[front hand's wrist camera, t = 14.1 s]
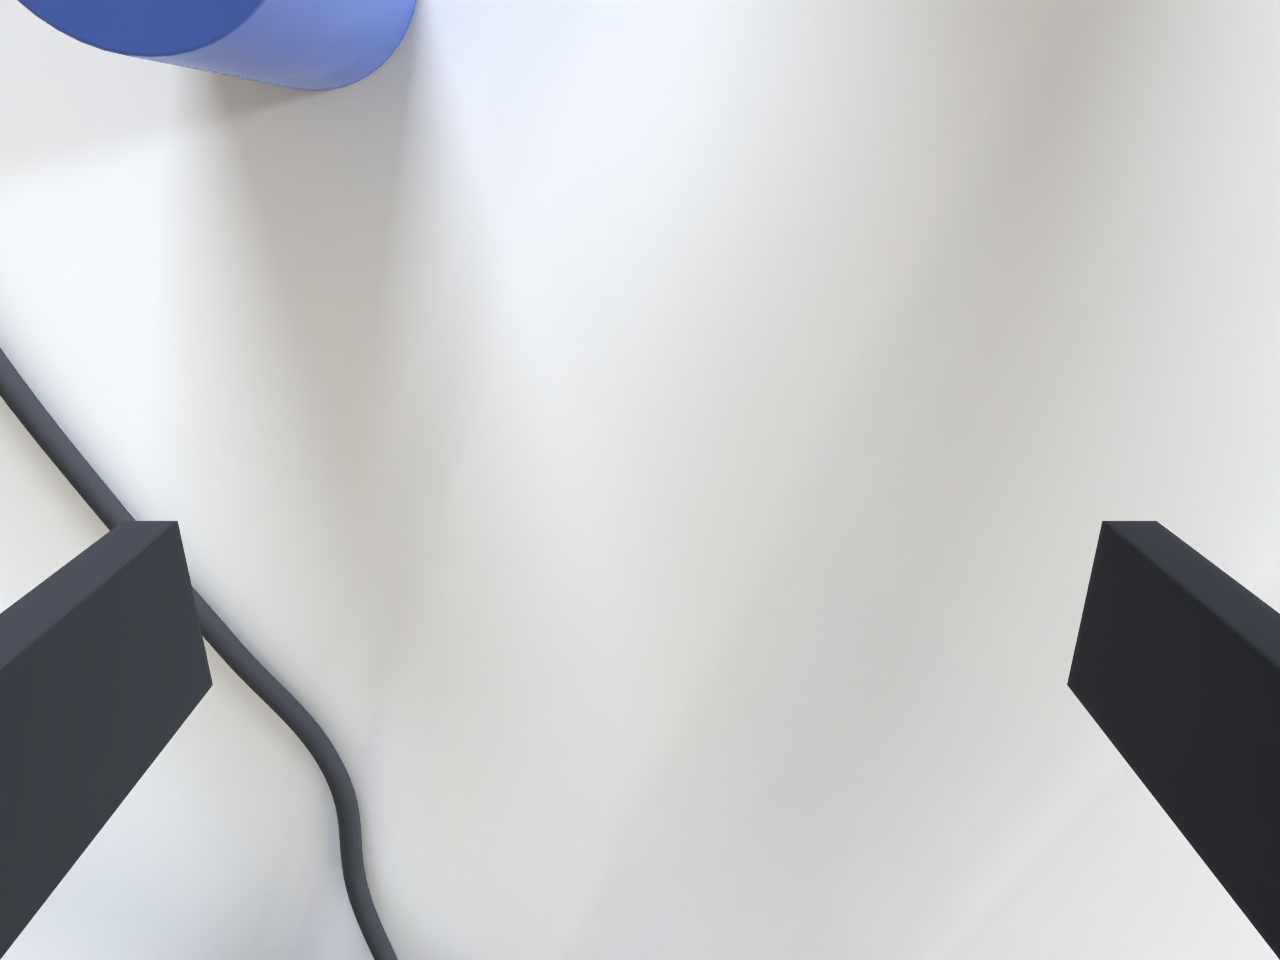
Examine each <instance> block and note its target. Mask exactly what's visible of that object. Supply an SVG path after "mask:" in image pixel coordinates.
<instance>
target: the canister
mask: <svg viewBox="0 0 1280 960" xmlns="http://www.w3.org/2000/svg"><path fill="white" fill-rule="evenodd" d="M18 1H19V2H20V3H21V4H23V5H24V6H25V7H26V8H27V9H29V10H30V11H31V12H32V13H33V14H35V15H36V16H37V17H39V18H40V19H42V20H43V21H45V22H46V23H48V24H49V25H51V26H52V27H54V28H55V29H57V30H58V31H60V32H62V33H64V34H66V35H68V36H70V37H72V38H74V39H76V40H78V41H80V42H82V43H85V44H88V45H91V46H93V47H96V48H99V49H102V50H105V51H109V52H114V53H118V54H122V55H127V56H132V57H137V58H142V59H147V60H152V61H157V62H163V63H168V64H173V65H178V66H183V67H188V68H193V69H198V70H203V71H208V72H213V73H219V74H224V75H229V76H234V77H239V78H244V79H249V80H254V81H259V82H264V83H270V84H275V85H280V86H285V87H290V88H295V89H301V90H313V91H316V90H330V89H335V88H340V87H344V86H347V85H349V84H352V83H355V82H357V81H359V80H361V79H363V78H364V77H366V76H368V75H370V74H371V73H372V72H374V71H375V70H376V69H378V68H379V67H380V66H381V65H382V64H383V63H384V62H385V61H386V60H387V59H388V58H389V57H390V56H391V55H392V53H393V52H394V51H395V49H396V48H397V47H398V45H399V44H400V42H401V40H402V38H403V36H404V35H405V33H406V31H407V29H408V26H409V23H410V21H411V18H412V15H413V12H414V7H415V3H416V0H18Z"/></svg>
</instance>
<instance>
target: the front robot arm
mask: <svg viewBox="0 0 1280 960" xmlns="http://www.w3.org/2000/svg"><path fill="white" fill-rule="evenodd" d="M0 396H1V397H2V398H3V399H4V401H5V402H6V403H7V405H8V406H9V407H10V409H11V410H12V411H13V413H14V414H15V415H16V416H17V418H18V419H19V420H20V422H21V423H22V424H23V425H24V427H25V428H26V429H27V430H28V432H29V433H30V434H31V435H32V437H33V438H34V439H35V440H36V442H37V443H38V444H39V445H40V447H41V448H42V449H43V450H44V452H45V453H46V454H47V455H48V456H49V458H50V459H51V460H52V461H53V463H54V464H55V465H56V466H57V467H58V469H59V470H60V471H61V472H62V473H63V475H64V476H65V477H66V478H67V479H68V481H69V482H70V483H71V484H72V486H73V487H74V488H75V489H76V490H77V492H78V493H79V494H80V495H81V496H82V498H83V499H84V500H85V501H86V502H87V504H88V505H89V506H90V507H91V508H92V510H93V511H94V512H95V513H96V514H97V516H98V517H99V518H100V519H101V520H102V522H103V523H104V524H105V525H106V526H107V528H108V529H109V530H110V532H108V533H107V534H106V535H104V536H103V537H102V538H100V539H99V540H98V541H97V542H95V543H94V544H93V545H91V546H90V547H89V548H87V549H86V550H85V551H83V552H82V553H81V554H79V555H78V556H77V557H75V558H74V559H73V560H71V561H70V562H69V563H67V564H66V565H65V566H63V567H62V568H61V569H59V570H58V571H57V572H55V573H54V574H53V575H51V576H50V577H49V578H47V579H46V580H45V581H43V582H42V583H41V584H39V585H38V586H37V587H35V588H34V589H33V590H31V591H30V592H29V593H27V594H26V595H25V596H23V597H22V598H21V599H19V600H18V601H17V602H15V603H14V604H13V605H12V606H10V607H9V608H8V609H6V610H5V611H4V612H2V613H1V614H0V959H1V958H2V957H3V955H4V954H5V953H6V951H7V950H8V949H9V948H10V946H11V945H12V944H13V942H14V941H15V940H16V938H17V937H18V936H19V935H20V933H21V932H22V931H23V929H24V928H25V927H26V926H27V924H28V923H29V922H30V920H31V919H32V918H33V917H34V915H35V914H36V913H37V911H38V910H39V909H40V907H41V906H42V905H43V904H44V902H45V901H46V900H47V898H48V897H49V896H50V895H51V893H52V892H53V891H54V889H55V888H56V887H57V885H58V884H59V883H60V882H61V880H62V879H63V878H64V876H65V875H66V874H67V873H68V871H69V870H70V869H71V867H72V866H73V865H74V863H75V862H76V861H77V860H78V858H79V857H80V856H81V854H82V853H83V852H84V851H85V849H86V848H87V847H88V845H89V844H90V843H91V842H92V840H93V839H94V838H95V836H96V835H97V834H98V832H99V831H100V830H101V829H102V827H103V826H104V825H105V823H106V822H107V821H108V820H109V818H110V817H111V816H112V814H113V813H114V812H115V810H116V809H117V808H118V807H119V805H120V804H121V803H122V801H123V800H124V799H125V798H126V796H127V795H128V794H129V792H130V791H131V790H132V788H133V787H134V786H135V785H136V783H137V782H138V781H139V779H140V778H141V777H142V776H143V774H144V773H145V772H146V770H147V769H148V768H149V767H150V765H151V764H152V763H153V761H154V760H155V759H156V757H157V756H158V755H159V754H160V752H161V751H162V750H163V748H164V747H165V746H166V745H167V743H168V742H169V741H170V739H171V738H172V737H173V735H174V734H175V733H176V732H177V730H178V729H179V728H180V726H181V725H182V724H183V723H184V721H185V720H186V719H187V717H188V716H189V715H190V714H191V712H192V711H193V710H194V708H195V707H196V706H197V704H198V703H199V702H200V701H201V699H202V698H203V697H204V695H205V694H206V693H207V692H208V690H209V689H210V688H211V686H212V685H213V684H212V679H211V674H210V670H209V665H208V661H207V656H206V651H205V647H204V642H203V637H204V638H205V639H206V640H207V641H208V642H209V644H210V645H211V646H212V647H213V648H214V649H215V650H216V652H217V653H218V654H219V655H220V656H221V657H222V658H223V659H224V661H225V662H226V663H227V664H228V665H229V666H230V667H231V668H232V669H233V670H234V671H235V672H236V674H237V675H238V676H239V677H240V678H241V679H242V680H243V681H244V682H245V683H246V684H247V685H248V686H249V687H250V688H251V689H252V690H253V691H254V692H255V693H256V694H257V695H258V696H259V697H260V698H261V699H262V700H263V701H264V702H265V703H266V704H268V705H269V706H270V707H271V708H272V709H273V710H274V711H275V712H276V713H277V714H278V715H279V716H280V717H281V719H282V720H283V721H284V722H285V723H286V724H287V725H288V726H289V727H290V728H291V729H292V730H293V731H294V733H295V734H296V735H297V736H298V737H299V739H300V740H301V741H302V742H303V743H304V745H305V746H306V747H307V749H308V750H309V752H310V753H311V754H312V756H313V757H314V759H315V761H316V762H317V764H318V765H319V767H320V769H321V771H322V773H323V774H324V776H325V779H326V781H327V783H328V785H329V788H330V790H331V793H332V796H333V799H334V803H335V807H336V812H337V817H338V825H339V836H340V850H341V861H342V869H343V875H344V880H345V885H346V889H347V893H348V896H349V900H350V903H351V906H352V908H353V911H354V914H355V916H356V919H357V922H358V924H359V926H360V929H361V931H362V933H363V936H364V938H365V940H366V942H367V944H368V946H369V949H370V951H371V953H372V955H373V957H374V959H375V960H398V959H397V957H396V955H395V953H394V951H393V948H392V946H391V944H390V942H389V940H388V938H387V935H386V933H385V931H384V929H383V927H382V924H381V922H380V920H379V917H378V915H377V912H376V910H375V907H374V904H373V901H372V898H371V895H370V892H369V889H368V885H367V881H366V876H365V871H364V864H363V855H362V841H361V826H360V816H359V809H358V804H357V799H356V796H355V792H354V789H353V786H352V783H351V780H350V777H349V775H348V773H347V771H346V769H345V766H344V764H343V763H342V761H341V759H340V757H339V755H338V753H337V752H336V750H335V748H334V747H333V745H332V743H331V742H330V740H329V739H328V737H327V736H326V735H325V733H324V732H323V730H322V729H321V728H320V726H319V725H318V724H317V723H316V721H315V720H314V719H313V718H312V717H311V715H310V714H309V713H308V712H307V711H306V710H305V709H304V708H303V707H302V705H301V704H300V703H299V702H298V701H297V700H296V699H295V698H294V697H293V696H292V695H291V694H290V693H289V692H288V691H287V690H286V689H285V688H284V687H283V686H282V685H281V684H280V683H279V682H278V681H277V680H276V679H275V678H274V677H273V676H272V675H271V674H270V673H269V672H268V671H267V670H266V669H265V668H264V667H263V666H262V665H261V664H260V663H259V662H258V661H257V660H256V659H255V658H254V656H253V655H252V654H251V653H250V652H249V651H248V650H247V649H246V648H245V647H244V646H243V644H242V643H241V642H240V641H239V640H238V639H237V638H236V636H235V635H234V634H233V633H232V632H231V631H230V629H229V628H228V627H227V626H226V625H225V624H224V622H223V621H222V620H221V619H220V618H219V617H218V616H217V614H216V613H215V612H214V611H213V610H212V609H211V608H210V606H209V605H208V604H207V603H206V602H205V601H204V600H203V598H202V597H201V596H200V595H199V594H198V593H197V592H196V590H195V589H194V588H193V587H192V586H191V582H190V577H189V572H188V568H187V563H186V558H185V554H184V549H183V544H182V540H181V535H180V530H179V526H178V521H135V520H134V518H133V517H132V516H131V515H130V514H129V512H128V511H127V510H126V509H125V508H124V506H123V505H122V504H121V503H120V501H119V500H118V499H117V498H116V497H115V495H114V494H113V493H112V492H111V490H110V489H109V488H108V487H107V486H106V484H105V483H104V482H103V481H102V479H101V478H100V477H99V476H98V475H97V473H96V472H95V471H94V470H93V468H92V467H91V466H90V465H89V463H88V462H87V461H86V460H85V459H84V457H83V456H82V455H81V454H80V452H79V451H78V450H77V449H76V447H75V446H74V445H73V444H72V442H71V441H70V440H69V439H68V437H67V436H66V435H65V434H64V432H63V431H62V430H61V429H60V427H59V426H58V425H57V424H56V422H55V421H54V420H53V418H52V417H51V416H50V415H49V413H48V412H47V411H46V409H45V408H44V407H43V405H42V404H41V403H40V402H39V400H38V399H37V398H36V396H35V395H34V394H33V392H32V391H31V390H30V388H29V387H28V386H27V384H26V383H25V382H24V380H23V379H22V377H21V376H20V375H19V373H18V372H17V371H16V369H15V368H14V366H13V365H12V364H11V362H10V361H9V360H8V358H7V357H6V355H5V354H4V353H3V351H2V350H1V348H0ZM202 636H203V637H202ZM1067 685H1068V686H1069V688H1070V689H1071V690H1072V692H1073V693H1074V694H1075V695H1076V697H1077V698H1078V699H1079V701H1080V702H1081V703H1082V704H1083V706H1084V707H1085V708H1086V710H1087V711H1088V712H1089V714H1090V715H1091V716H1092V717H1093V719H1094V720H1095V721H1096V723H1097V724H1098V725H1099V726H1100V728H1101V729H1102V730H1103V732H1104V733H1105V734H1106V735H1107V737H1108V738H1109V739H1110V741H1111V742H1112V743H1113V745H1114V746H1115V747H1116V748H1117V750H1118V751H1119V752H1120V754H1121V755H1122V756H1123V757H1124V759H1125V760H1126V761H1127V763H1128V764H1129V765H1130V767H1131V768H1132V769H1133V770H1134V772H1135V773H1136V774H1137V776H1138V777H1139V778H1140V779H1141V781H1142V782H1143V783H1144V785H1145V786H1146V787H1147V789H1148V790H1149V791H1150V792H1151V794H1152V795H1153V796H1154V798H1155V799H1156V800H1157V801H1158V803H1159V804H1160V805H1161V807H1162V808H1163V809H1164V810H1165V812H1166V813H1167V814H1168V816H1169V817H1170V818H1171V820H1172V821H1173V822H1174V823H1175V825H1176V826H1177V827H1178V829H1179V830H1180V831H1181V832H1182V834H1183V835H1184V836H1185V838H1186V839H1187V840H1188V842H1189V843H1190V844H1191V845H1192V847H1193V848H1194V849H1195V851H1196V852H1197V853H1198V854H1199V856H1200V857H1201V858H1202V860H1203V861H1204V862H1205V863H1206V865H1207V866H1208V867H1209V869H1210V870H1211V871H1212V873H1213V874H1214V875H1215V876H1216V878H1217V879H1218V880H1219V882H1220V883H1221V884H1222V885H1223V887H1224V888H1225V889H1226V891H1227V892H1228V893H1229V895H1230V896H1231V897H1232V898H1233V900H1234V901H1235V902H1236V904H1237V905H1238V906H1239V907H1240V909H1241V910H1242V911H1243V913H1244V914H1245V915H1246V917H1247V918H1248V919H1249V920H1250V922H1251V923H1252V924H1253V926H1254V927H1255V928H1256V929H1257V931H1258V932H1259V933H1260V935H1261V936H1262V937H1263V938H1264V940H1265V941H1266V942H1267V944H1268V945H1269V946H1270V948H1271V949H1272V950H1273V951H1274V953H1275V954H1276V955H1277V957H1278V958H1279V959H1280V614H1279V613H1278V612H1276V611H1275V610H1274V609H1272V608H1271V607H1270V606H1268V605H1267V604H1266V603H1265V602H1263V601H1262V600H1261V599H1259V598H1258V597H1257V596H1255V595H1254V594H1253V593H1251V592H1250V591H1249V590H1247V589H1246V588H1245V587H1243V586H1242V585H1241V584H1239V583H1238V582H1237V581H1235V580H1234V579H1233V578H1231V577H1230V576H1229V575H1227V574H1226V573H1225V572H1223V571H1222V570H1221V569H1219V568H1218V567H1217V566H1215V565H1214V564H1213V563H1211V562H1210V561H1209V560H1207V559H1206V558H1205V557H1203V556H1202V555H1201V554H1199V553H1198V552H1197V551H1195V550H1194V549H1193V548H1191V547H1190V546H1189V545H1187V544H1186V543H1185V542H1183V541H1182V540H1181V539H1180V538H1178V537H1177V536H1176V535H1174V534H1173V533H1172V532H1170V531H1169V530H1168V529H1166V528H1165V527H1164V526H1162V525H1161V524H1160V523H1158V522H1157V521H1102V526H1101V530H1100V535H1099V540H1098V544H1097V549H1096V554H1095V558H1094V563H1093V568H1092V572H1091V577H1090V582H1089V586H1088V591H1087V595H1086V600H1085V605H1084V609H1083V614H1082V619H1081V623H1080V628H1079V633H1078V637H1077V642H1076V647H1075V651H1074V656H1073V661H1072V665H1071V670H1070V674H1069V679H1068V684H1067Z"/></svg>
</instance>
